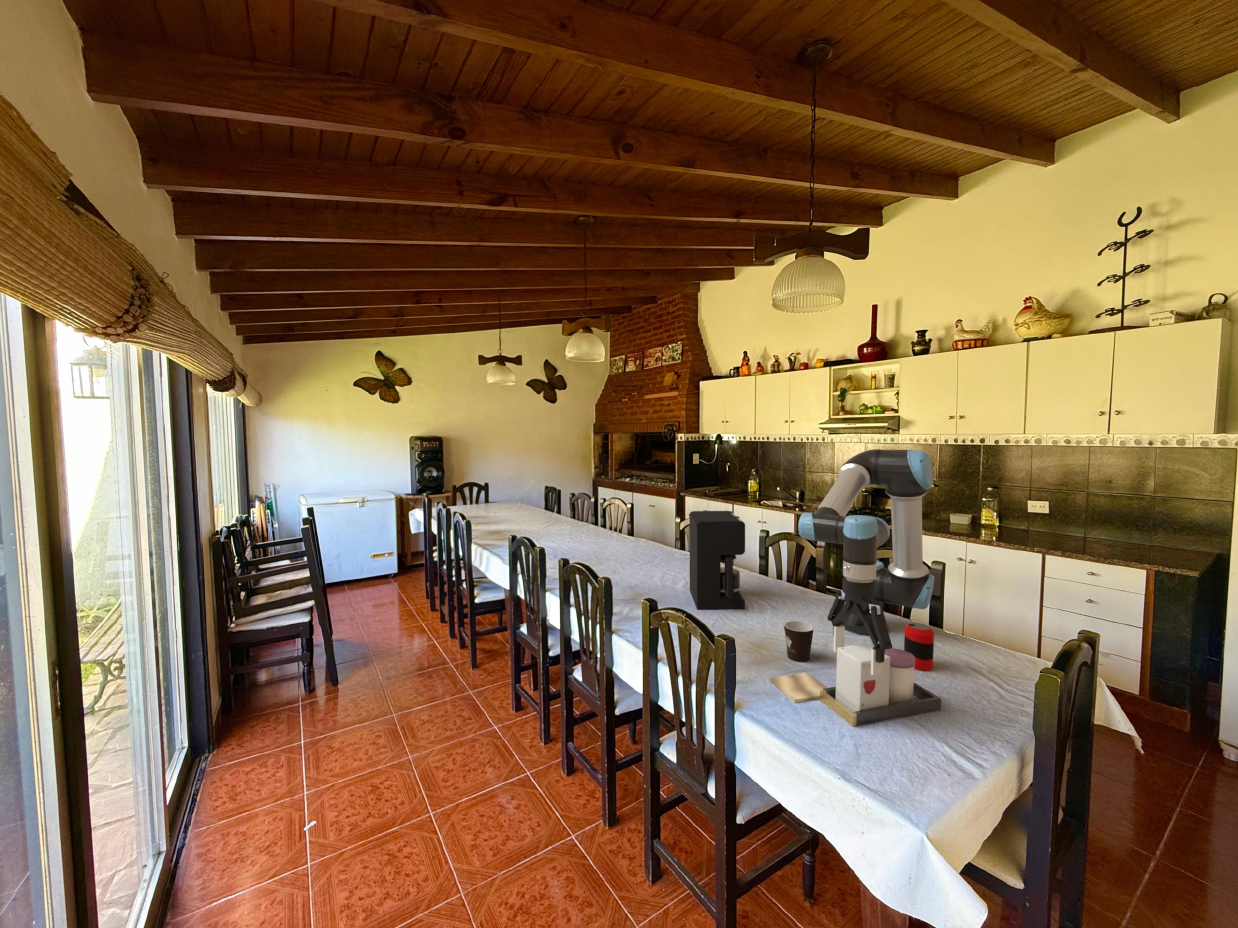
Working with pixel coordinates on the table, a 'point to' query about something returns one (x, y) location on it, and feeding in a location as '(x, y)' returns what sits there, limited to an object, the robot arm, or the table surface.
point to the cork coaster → (799, 686)
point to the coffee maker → (715, 559)
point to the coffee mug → (798, 640)
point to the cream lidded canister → (900, 676)
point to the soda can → (920, 645)
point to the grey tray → (889, 712)
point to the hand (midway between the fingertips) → (856, 661)
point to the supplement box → (860, 679)
